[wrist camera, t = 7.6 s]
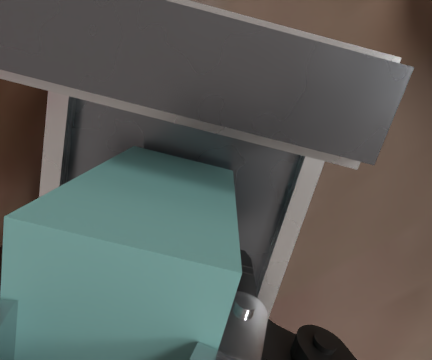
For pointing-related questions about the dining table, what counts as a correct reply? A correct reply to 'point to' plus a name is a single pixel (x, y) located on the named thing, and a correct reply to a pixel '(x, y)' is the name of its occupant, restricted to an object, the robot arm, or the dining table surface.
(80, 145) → the vise
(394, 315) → the dining table surface
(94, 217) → the teal block
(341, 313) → the dining table surface
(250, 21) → the bar
